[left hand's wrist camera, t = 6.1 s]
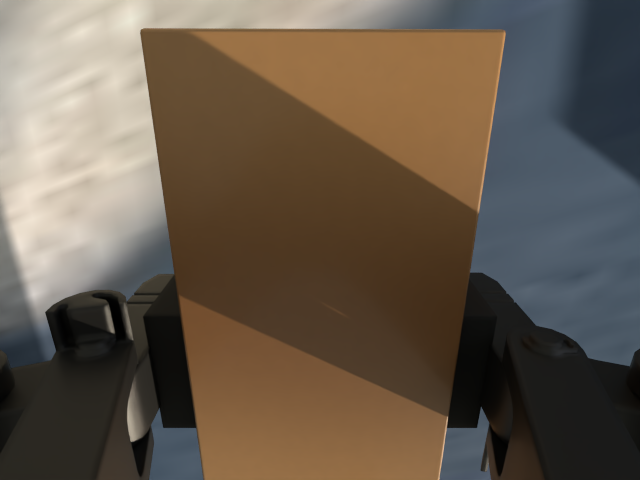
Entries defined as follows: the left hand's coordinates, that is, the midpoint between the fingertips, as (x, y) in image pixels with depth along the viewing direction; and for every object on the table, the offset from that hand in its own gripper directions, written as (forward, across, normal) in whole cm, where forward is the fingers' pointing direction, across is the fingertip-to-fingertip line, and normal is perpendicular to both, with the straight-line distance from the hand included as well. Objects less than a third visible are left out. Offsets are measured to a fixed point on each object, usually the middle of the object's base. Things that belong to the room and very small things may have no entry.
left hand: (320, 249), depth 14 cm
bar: (+1, 0, -28) cm, 28 cm away
